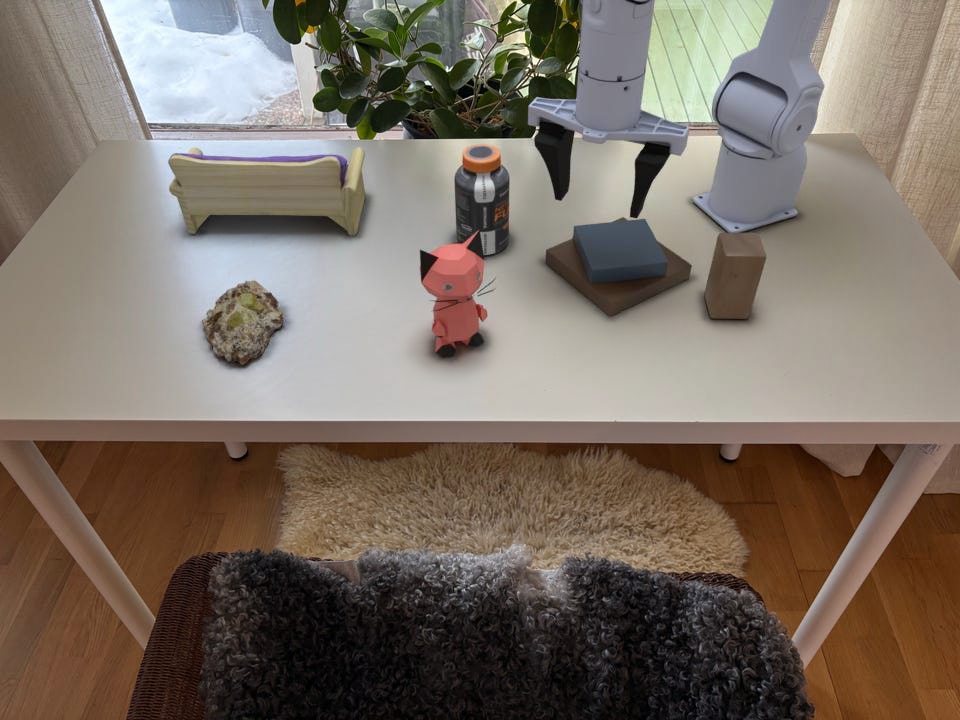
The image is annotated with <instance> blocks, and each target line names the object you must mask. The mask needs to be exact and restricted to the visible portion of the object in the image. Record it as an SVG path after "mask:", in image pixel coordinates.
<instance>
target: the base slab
mask: <svg viewBox="0 0 960 720" xmlns="http://www.w3.org/2000/svg"><path fill="white" fill-rule="evenodd" d="M627 220H628V218H625V217H624V216H622V217H620V218H618V219H615V220H613V221H612V222H617V221H627ZM657 242H658V244H659V246H660V247H661V249H662V251H663V253H664V255H665V257H666V259H667V261H668V266H667V272H666V276H660V277H651V278H642V279H633V280H623V281H614V282H605V283H596V284H590V281H589V279H588V276H587V273H586V271H585V268H584V266H583V263H582V261H581V258H580V256H579V253H578V251H577V248H576V246H575V243H574V241H573V237H572V238H570V239H568V240H566V241H563V242H561V243H558V244H556V245H554V246H552V247H549V248H547V249H545V261H544V262H545V264H546V265H547V266H549V267H550V268H551V269H552V270H553V271H555V272H556V273H557V274H558V275H559V276H560V277H562V278H563V279H564V280H565V281H566V282H568V283H569V284H570V285H571V286H572V287H574V289H576V290H577V291H579V292H580V293H581V294H582V295H584V296H585V297H586V298H587V299H588V300H589V301H591V303H593V304H594V305H596V306H597V307H598V308H599V309H600V310H601V311H603V312H604V313H605V314H606V315H608V316H609V317H612V316H615V315H616V314H619V313H621V312H623V311H625V310H626V309H629V308H631V307H633V306H635V305H637V304H640V303H642V302H643V301H646V300H648V299H650V298H652V297H653V296H656V295H658V294H660V293H662V292H664V291H666V290H668V289H671V288H672V287H674V286H676V285H679V284H680V283H683V282H685V281H687V280H689V279H690V277H691V272H692V267H693V264H691V263H690V262H688V261H687V260H685V259H684V258H683V257H682V256H680V255H679V254H677V253H675V251H672V249H670V248H668V247H667V246H665V245H664V244H663V243H661V242H660V241H659V240H657Z"/></svg>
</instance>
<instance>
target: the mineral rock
mask: <svg viewBox="0 0 960 720" xmlns="http://www.w3.org/2000/svg"><path fill="white" fill-rule="evenodd" d="M205 315H207V316H206V317H204V318H202V320H201V325H203V328H204V330H205V331H204V332H205V335H206V336H205V337H206V338H207V340H208V343H209V344H210V345H212V346H213V347H212V351H213V353H214V354H215V355H217V356H218V357H224V358H225V360H227V362H228V363H229V362H230V363H233V362H237V363H239V364H240V365H241V366H244V365H246V364H247V363H248V361H249V360H251V359H256V358H258V357H260V356H261V355H263V353H264V352H265V349H266V348H268V346H269V344H270V338H271V335H273V333H274V332H275V330H280V328H281V326H282V325H283V324H284V321H285V319H284V317H283V315H284V313H283V312H282V311H281V309H280V308H279V300H278V299H277V298H276V297H275V296H274V295H273V293H272V292H271V291H270V292H269V290H267V288H265V287H264V286H263V285H261V284H260V283H259V282H258V281H256V280H245V281H244V282H241V283H238V284H237V285H236V286H235V287H232V288H228V289H226V291H225V292H224V293H223V294H221V295H220V296H219V297H218V299H216V301H215V305H214V308H213V309H210V308H209V309H208V310H207V311H206V314H205Z"/></svg>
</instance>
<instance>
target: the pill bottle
mask: <svg viewBox="0 0 960 720" xmlns="http://www.w3.org/2000/svg"><path fill="white" fill-rule="evenodd" d="M501 154H502V153H501V150H500V149H499V148H498V147H496V146H494V145H493V144H488V143H476V144H472V145H469V146H467V147H466V148H465V149H463V152H462V159H461V160H462V161H461V165H460V166H459V167H458V168H457V169H456V170H455V174H454V177H453V178H454V179H453V180H454V201H455V202H454V207H455V208H454V210H455V231H456V242H457V244H463V243H464V242H465V241H467V240H468V239H469V238H470V237H471V236H473V235H474V234H475V233H476V232H477V231H478V230H480V235H481V241H482V247H483V253H484V256H489V255H494V254H496V253H499V252H501V251H502V250H503V249H505V248H506V246H507V245H508V243H509V240H510V186H511V185H510V184H511V183H510V173H509V171H508V169H507V168H506V167H505V165H503V164H502V160H501Z"/></svg>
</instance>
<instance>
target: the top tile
mask: <svg viewBox="0 0 960 720" xmlns="http://www.w3.org/2000/svg"><path fill="white" fill-rule="evenodd" d="M572 233H573V235H572V238H573V241H574V243H575V246H576V248H577V251H578V253H579V256H580V258H581V261H582V263H583V266H584V268H585V271H586V273H587V276H588V279H589V281H590V284H596V283H605V282H614V281H623V280H633V279H642V278H651V277H660V276H666V272H667V266H668V261H667V259H666V257H665V255H664V253H663V251H662V249H661V247H660V246H659V244H658V242H659V241H658V240H657V238H656V237H655V234H654V232H653V231H652V229H651V227H650V224H649V223H648V221H647V219H646V218H636V219H627V221H617V222H613V221H609V222H599V223H589V224H580V225H579V224H578V225H577V224H576V225H573V232H572ZM657 241H658V242H657Z"/></svg>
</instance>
